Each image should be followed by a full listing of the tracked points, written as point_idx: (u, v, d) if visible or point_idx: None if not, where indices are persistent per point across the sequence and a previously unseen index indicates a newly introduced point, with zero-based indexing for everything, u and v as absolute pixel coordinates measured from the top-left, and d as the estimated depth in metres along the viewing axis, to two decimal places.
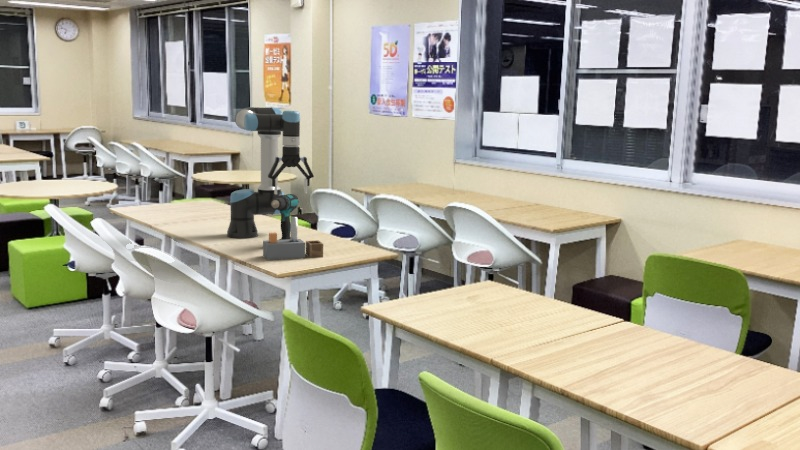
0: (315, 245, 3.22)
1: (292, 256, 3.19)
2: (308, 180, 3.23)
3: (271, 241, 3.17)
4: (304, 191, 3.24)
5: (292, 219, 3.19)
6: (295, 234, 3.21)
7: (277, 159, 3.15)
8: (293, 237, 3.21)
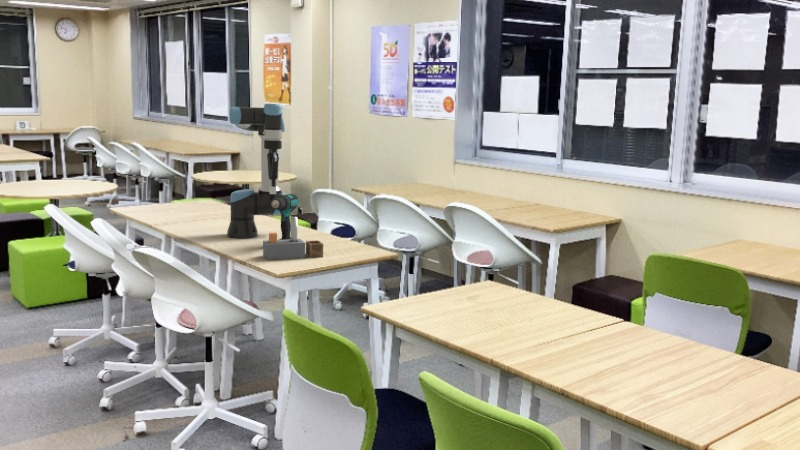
0: (315, 245, 3.22)
1: (292, 256, 3.19)
2: (272, 180, 3.12)
3: (271, 241, 3.17)
4: None
5: (292, 219, 3.19)
6: (295, 234, 3.21)
7: (267, 156, 3.17)
8: (293, 237, 3.21)
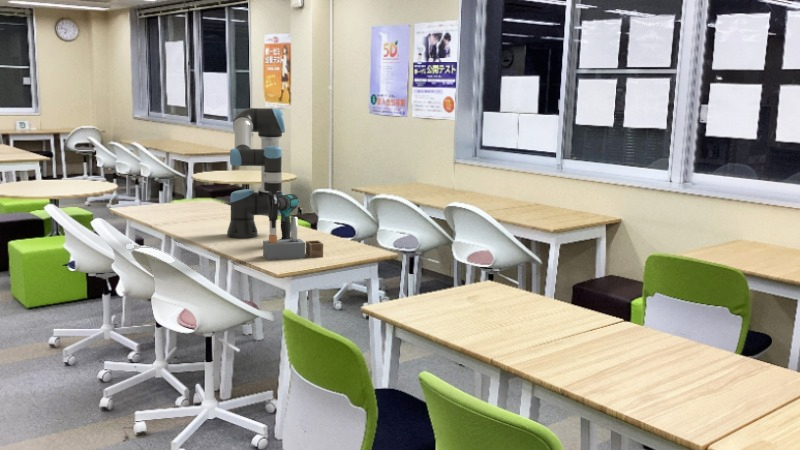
0: (315, 245, 3.22)
1: (292, 256, 3.19)
2: (272, 222, 3.16)
3: None
4: None
5: (292, 219, 3.19)
6: (295, 234, 3.21)
7: (267, 198, 3.20)
8: (293, 237, 3.21)
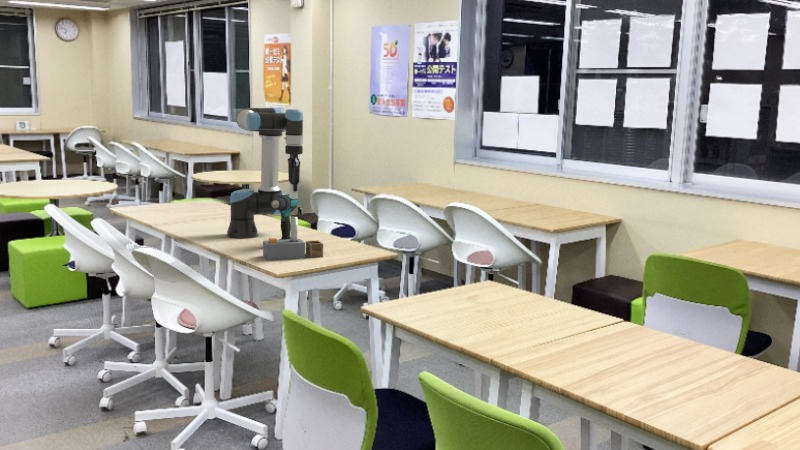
0: (315, 245, 3.22)
1: (292, 256, 3.19)
2: (293, 185, 3.15)
3: None
4: None
5: (292, 219, 3.19)
6: (295, 234, 3.21)
7: (288, 160, 3.21)
8: (293, 237, 3.21)
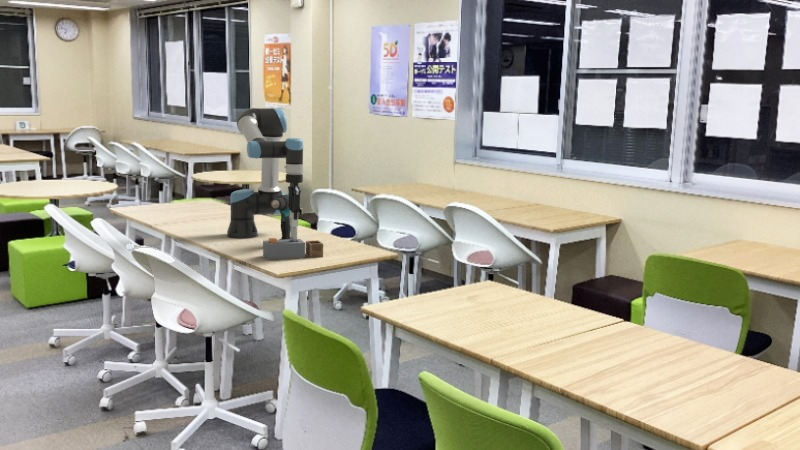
0: (315, 245, 3.22)
1: (292, 256, 3.19)
2: (294, 213, 3.17)
3: None
4: None
5: None
6: (295, 234, 3.21)
7: (288, 188, 3.23)
8: (293, 237, 3.21)
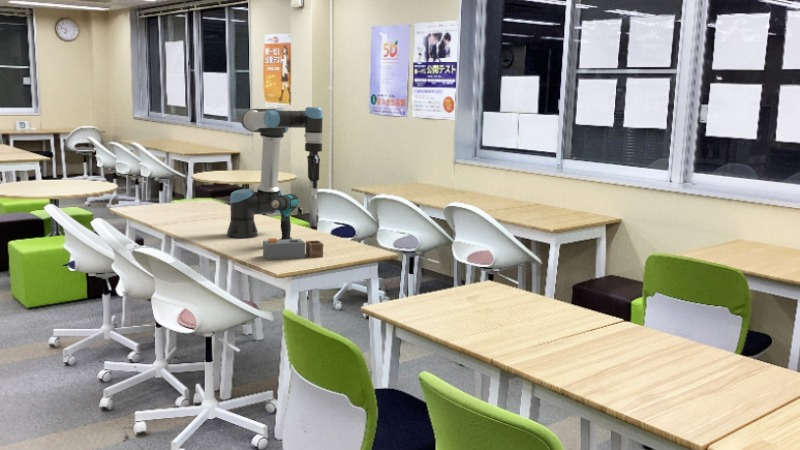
0: (315, 245, 3.22)
1: (292, 256, 3.19)
2: (313, 182, 3.18)
3: None
4: None
5: None
6: (314, 203, 3.21)
7: (307, 158, 3.24)
8: (312, 206, 3.21)
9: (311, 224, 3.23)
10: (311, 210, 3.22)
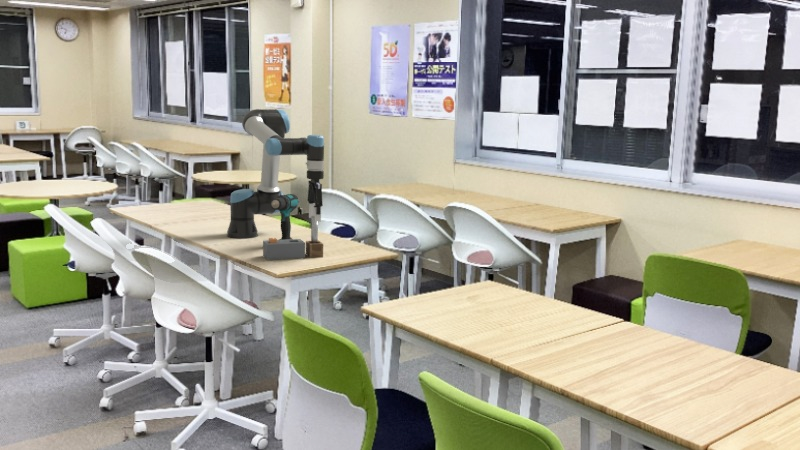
0: (315, 245, 3.22)
1: (292, 256, 3.19)
2: (316, 208, 3.18)
3: None
4: None
5: (313, 218, 3.23)
6: (316, 233, 3.24)
7: None
8: (314, 236, 3.24)
9: None
10: (312, 240, 3.25)
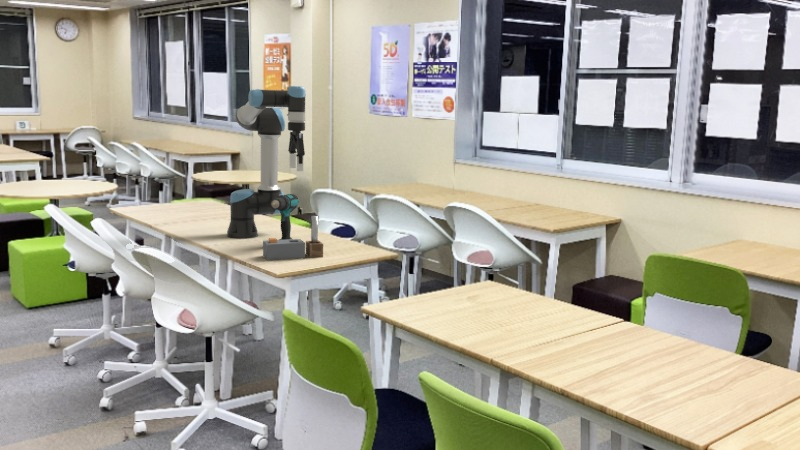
0: (315, 245, 3.22)
1: (292, 256, 3.19)
2: (299, 157, 3.13)
3: None
4: None
5: (313, 218, 3.23)
6: (316, 233, 3.24)
7: (290, 133, 3.24)
8: (314, 236, 3.24)
9: None
10: (313, 240, 3.25)
